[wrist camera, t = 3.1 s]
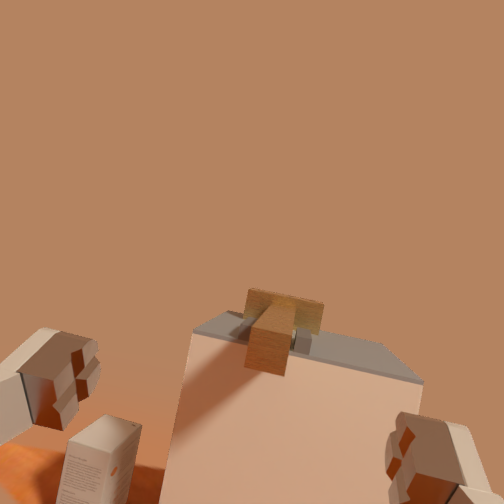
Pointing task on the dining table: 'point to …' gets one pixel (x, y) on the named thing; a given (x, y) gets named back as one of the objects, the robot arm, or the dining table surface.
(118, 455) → the small box
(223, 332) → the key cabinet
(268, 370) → the wooden t-shaped block
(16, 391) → the robot arm
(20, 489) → the dining table surface
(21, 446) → the dining table surface
